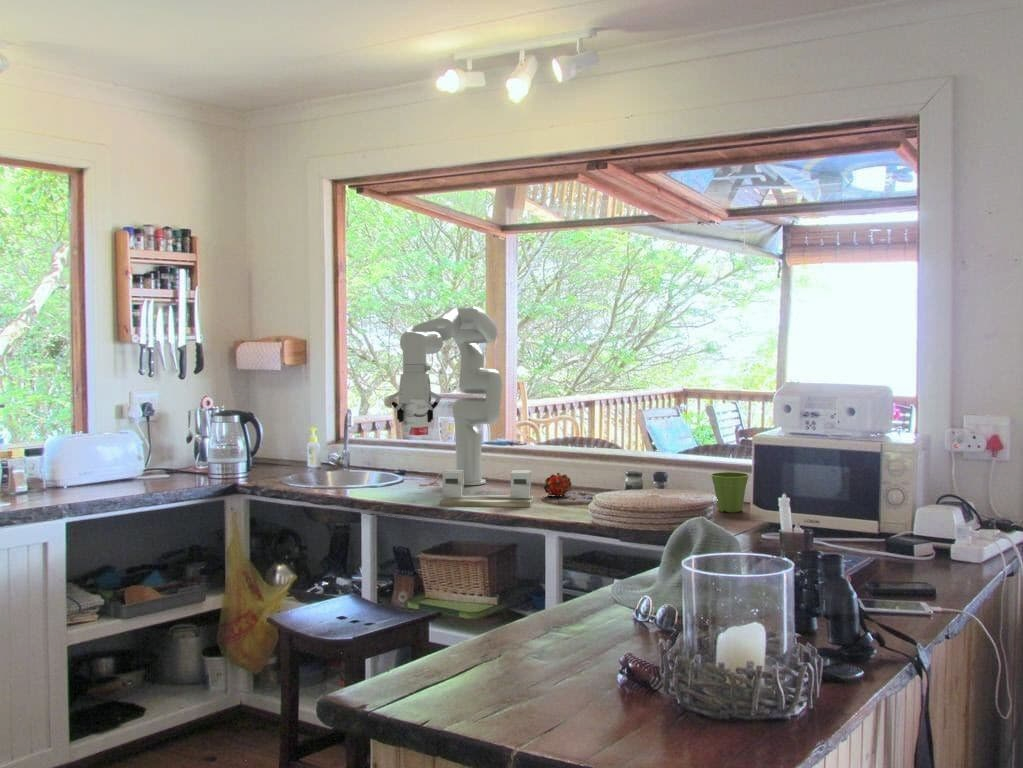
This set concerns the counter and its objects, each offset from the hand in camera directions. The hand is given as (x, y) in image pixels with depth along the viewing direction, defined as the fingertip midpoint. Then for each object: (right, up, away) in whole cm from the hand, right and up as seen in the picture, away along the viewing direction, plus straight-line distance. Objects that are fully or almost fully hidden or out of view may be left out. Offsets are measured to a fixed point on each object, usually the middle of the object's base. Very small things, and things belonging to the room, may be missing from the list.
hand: (415, 421), depth 316 cm
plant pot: (+98, -27, -20) cm, 104 cm away
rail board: (+24, -26, -4) cm, 35 cm away
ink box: (0, -4, 0) cm, 4 cm away
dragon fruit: (+47, -26, +9) cm, 54 cm away
